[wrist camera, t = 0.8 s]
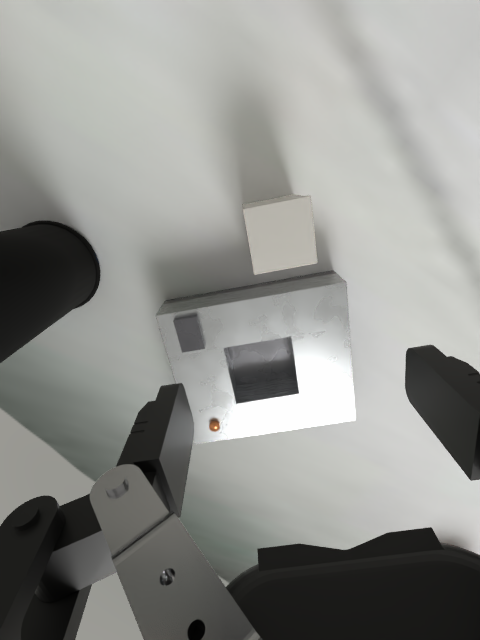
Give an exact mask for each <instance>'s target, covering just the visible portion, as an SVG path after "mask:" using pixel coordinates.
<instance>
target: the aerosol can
mask: <svg viewBox="0 0 480 640" xmlns="http://www.w3.org/2000/svg"><path fill="white" fill-rule="evenodd" d="M99 281H100V267H99V262H98V259H97V256H96V254H95V252H94V250H93V249H92V247H91V245H90V244H89V243H88V242H87V241H86V239H85V238H84V237H82V236H81V235H80V234H79V233H78V232H77V231H75V230H73V229H72V228H70V227H68V226H66V225H63V224H61V223H57V222H52V221H36V222H32V223H29V224H27V225H25V226H23V227H22V228H17V229H12V230H7V231H2V232H0V363H1V362H2V361H4V360H5V359H6V358H8V357H9V356H10V355H12V354H13V353H14V352H16V351H17V350H19V349H20V348H21V347H23V346H24V345H25V344H27V343H28V342H29V341H31V340H32V339H33V338H35V337H36V336H37V335H39V334H40V333H41V332H43V331H44V330H45V329H47V328H48V327H49V326H51V325H52V324H53V323H55V322H56V321H58V320H59V319H60V318H62V317H63V316H64V315H66V314H67V313H68V312H70V311H71V310H72V309H75V308H78V307H80V306H82V305H84V304H85V303H87V302H88V301H89V300H90V299H91V298H92V297H93V296H94V294H95V292H96V290H97V288H98V285H99Z"/></svg>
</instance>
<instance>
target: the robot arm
mask: <svg viewBox="0 0 480 640" xmlns="http://www.w3.org/2000/svg"><path fill="white" fill-rule="evenodd" d="M405 389H406V393H407V397H408V399H409V401H410V403H411V404H412V405H413V407H414V408H415V409H416V411H417V412H418V413H419V414H420V416H421V417H422V418H423V420H424V421H425V422H426V424H427V425H428V426H429V427H430V429H431V430H432V431H433V433H434V434H435V435H436V436H437V438H438V439H439V440H440V442H441V443H442V444H443V445H444V447H445V448H446V449H447V451H448V452H449V453H450V454H451V456H452V457H453V458H454V460H455V461H456V462H457V463H458V465H459V466H460V467H461V469H462V470H463V471H464V472H465V474H466V475H467V476H468V478H469V479H470V480H479V479H480V374H479V372H478V371H477V370H475V369H474V368H473V367H472V366H470V365H469V364H468V363H466V362H463V361H461V360H459V359H456V358H454V357H452V356H450V357H446V356H445V355H444V354H443V353H442V352H441V351H439V350H438V349H437V348H436V347H435V346H433V345H426V346H420V347H413V348H409V349H408V350H407V352H406V373H405ZM130 433H131V434H130V435H129V437H128V439H127V442H126V444H125V446H124V449H123V451H122V454H121V456H120V458H119V461H118V463H117V466H116V467H115V468H112V469H111V470H109V471H107V472H106V473H104V474H103V475H102V476H101V477H100V478H99V479H98V480H97V481H96V482H95V484H94V485H93V487H92V489H91V492H90V494H88V495H86V496H84V497H81V498H79V499H76V500H74V501H71V502H69V503H67V504H64V505H62V506H59V504H58V503H57V501H56V499H55V498H53V497H51V496H40V497H36V498H33V499H31V500H29V501H27V502H25V503H24V504H22V505H20V506H19V507H18V508H16V509H15V510H14V511H13V512H12V513H11V514H10V515H9V516H8V517H7V518H6V519H5V520H4V522H3V523H2V524H1V526H0V640H75V638H76V635H77V631H78V628H79V625H80V622H81V618H82V615H83V612H84V608H85V605H86V602H87V599H88V595H89V592H90V589H91V586H92V584H93V583H95V582H97V581H99V580H101V579H103V578H106V577H107V576H109V575H112V574H114V573H116V572H117V573H118V576H119V579H120V581H121V584H122V586H123V589H124V591H125V594H126V596H127V599H128V601H129V604H130V606H131V608H132V611H133V614H134V616H135V619H136V621H137V624H138V626H139V629H140V631H141V634H142V636H143V639H144V640H480V555H478V554H476V553H474V552H471V551H469V550H466V549H463V548H460V547H457V546H453V545H449V544H444V543H440V542H439V540H438V538H437V536H436V535H435V533H434V531H433V529H432V528H423V529H414V530H406V531H398V532H390V533H386V534H384V535H381V536H379V537H377V538H375V539H372V540H370V541H368V542H365V543H363V544H361V545H358V546H356V547H354V548H351V549H348V550H340V549H333V548H326V547H319V546H312V545H305V544H293V545H285V546H277V547H269V548H261V549H258V564H257V565H255V566H253V567H251V568H249V569H248V570H246V571H244V572H243V573H241V574H240V575H239V576H238V577H236V578H235V579H234V580H233V581H232V582H231V583H230V584H229V585H228V586H227V587H225V586H224V584H223V583H222V581H221V580H220V578H219V577H218V575H217V574H216V572H215V571H214V570H213V568H212V567H211V565H210V564H209V562H208V561H207V559H206V558H205V556H204V555H203V553H202V552H201V551H200V549H199V548H198V546H197V545H196V543H195V542H194V540H193V539H192V537H191V536H190V534H189V533H188V532H187V530H186V529H185V527H184V526H183V524H182V523H181V521H180V520H179V517H180V516H181V510H182V504H183V498H184V492H185V486H186V480H187V474H188V468H189V461H190V455H191V449H192V443H193V437H194V421H193V416H192V412H191V409H190V405H189V402H188V398H187V395H186V391H185V388H184V386H183V384H182V383H178V384H171V385H165V386H161V387H160V390H159V392H158V395H157V398H156V401H151V402H148V403H147V404H146V405H145V406H144V407H143V408H142V409H141V410H140V411H139V413H138V415H137V418H136V420H135V422H134V425H133V427H132V430H131V432H130Z"/></svg>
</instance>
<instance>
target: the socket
mask: <svg viewBox="0 0 480 640" xmlns="http://www.w3.org/2000/svg"><path fill="white" fill-rule="evenodd" d="M156 319H157V322H158V325H159V329H160V332H161V335H162V339H163V342H164V345H165V349H166V352H167V355H168V358H169V362H170V365H171V368H172V372H173V375H174V378H175V382H176V384H178V383H182V384H183V386H184V388H185V391H186V395H187V398H188V402H189V405H190V409H191V412H192V416H193V421H194V437H193V441H194V444H201V443H207V442H214V441H221V440H227V439H234V438H240V437H247V436H254V435H260V434H267V433H273V432H280V431H287V430H293V429H300V428H307V427H313V426H320V425H326V424H333V423H340V422H346V421H353V420H356V418H355V403H354V388H353V373H352V358H351V344H350V329H349V314H348V299H347V284H346V281H345V280H343V279H342V278H341V277H340V276H339V275H338V274H337V273H336V272H334V271H327V272H322V273H316V274H311V275H305V276H300V277H294V278H289V279H283V280H278V281H272V282H267V283H261V284H255V285H250V286H244V287H239V288H233V289H228V290H222V291H217V292H211V293H206V294H200V295H195V296H189V297H183V298H178V299H172V300H167V301H165V302H164V304H163V305H162V307H161V308H160V310H159V312H158V313H157V315H156Z"/></svg>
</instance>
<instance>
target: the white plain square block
mask: <svg viewBox="0 0 480 640" xmlns="http://www.w3.org/2000/svg"><path fill="white" fill-rule="evenodd" d="M242 205H243V213H244V219H245V225H246V230H247V236H248V242H249V248H250V253H251V259H252V265H253V271H254V275H257V274H262V273H268V272H273V271H278V270H284V269H289V268H295V267H300V266H306V265H311V264H317V252H316V242H315V232H314V222H313V212H312V202H311V196H301V195H294V194H293V195H288V196H283V197H278V198H272V199H267V200H262V201H257V202H252V203H247V204H242Z"/></svg>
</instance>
